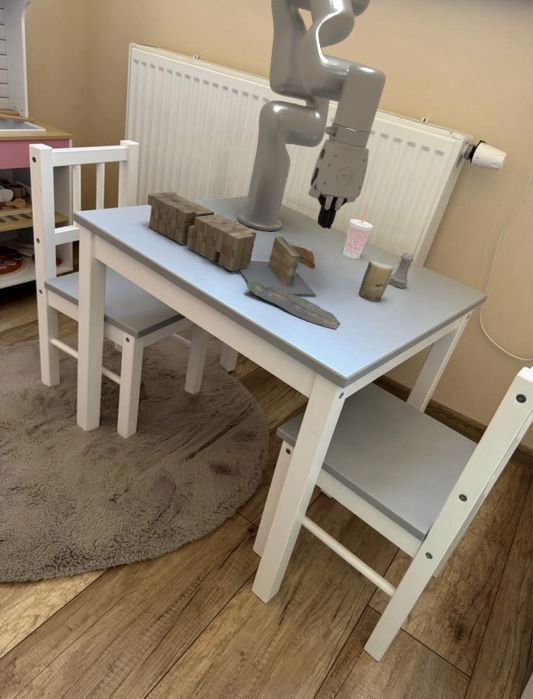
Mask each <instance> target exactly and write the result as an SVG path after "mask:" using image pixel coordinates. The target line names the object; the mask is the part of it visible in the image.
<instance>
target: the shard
mask: <svg viewBox="0 0 533 699" xmlns="http://www.w3.org/2000/svg"><path fill="white" fill-rule="evenodd" d="M290 245H291V246H292V248H293V249H294V250H295V251H296V252H297V253H298V254H299V255H300V260H299V263H301V264H302V265H304V266H306V267H308V268H310V269H312V270H315V268H316V262H315V254H314V253H313V252H314V251H312V250H310V249H308V248H306V247H303V246H297V245H293V244H290Z"/></svg>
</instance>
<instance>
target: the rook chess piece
mask: <svg viewBox="0 0 533 699" xmlns="http://www.w3.org/2000/svg"><path fill="white" fill-rule="evenodd" d="M412 262H414V255H413V254H410V253H409V252H403V253H402V255H401V256H400V261H399V265H398V267H397V269H396V270H395V272H393V274H391V277H390V280H389V284H390V285H391V286H393V287H395V288H398V289H405V288H406V287H407V284H408V283H409V282H408V281H409V280H408V273H409V269H410V267H411V263H412Z"/></svg>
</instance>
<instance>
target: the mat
mask: <svg viewBox="0 0 533 699" xmlns="http://www.w3.org/2000/svg"><path fill="white" fill-rule="evenodd" d="M268 264H269V261H268V260H267V261H265V260H251V261H250V263H248V266H247V268H244V269H239V270H237V271H238V273H239V274H240V275H241V277H242V278H243V280H244V281H245V282H246V283H245V284H247V283H249V282H250V281H255V282H257V283H260V284H262V285H263V286H264V287H277V288H281V289H283V290H287V291H288V292H291V293H292V294H294V295H297V296H299V297H301V298H304V297H307V298H309V297H310V298H315V297H316V296H317V294H316V293H315V291H314V290H313V289H312V288H311V287H310V286H309V285H308V284H307V283H306V281H305V280H304V279H303V278H302V277H301V275H299V273H298V271H296V275H295V279H294V283H293V286H284V285H283V284H282V282H281V281H280V280H279V279H278V277H277V276H276V275H275V274H274V272H273V271H272V270H271V269H270V267H269V266H268ZM252 293H253V294H254V292H252Z"/></svg>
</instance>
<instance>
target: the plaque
mask: <svg viewBox="0 0 533 699" xmlns="http://www.w3.org/2000/svg"><path fill="white" fill-rule="evenodd" d="M291 245H292V244H290V243H289V242H288V241H287V239H285V238H284V237H283V236H280V237H279V236H274V239H273V244H272V248H271V252H270V255H269V256H270V257H269V261H268V262H269V264H268V266H269V267H270V269H271V270H272V271H273V272H274V274H275V275H276V276H277V277H278V279H279V280H280V281H281V282H282V284H283V285H284V286H293V283H294V279H295V275H296V272H298V271H297V270H298V267H299V263H300V262H299V260H300V255H299V254H298V253H297V252H296V251H295V250H294V249H293V248H292V246H291Z"/></svg>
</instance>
